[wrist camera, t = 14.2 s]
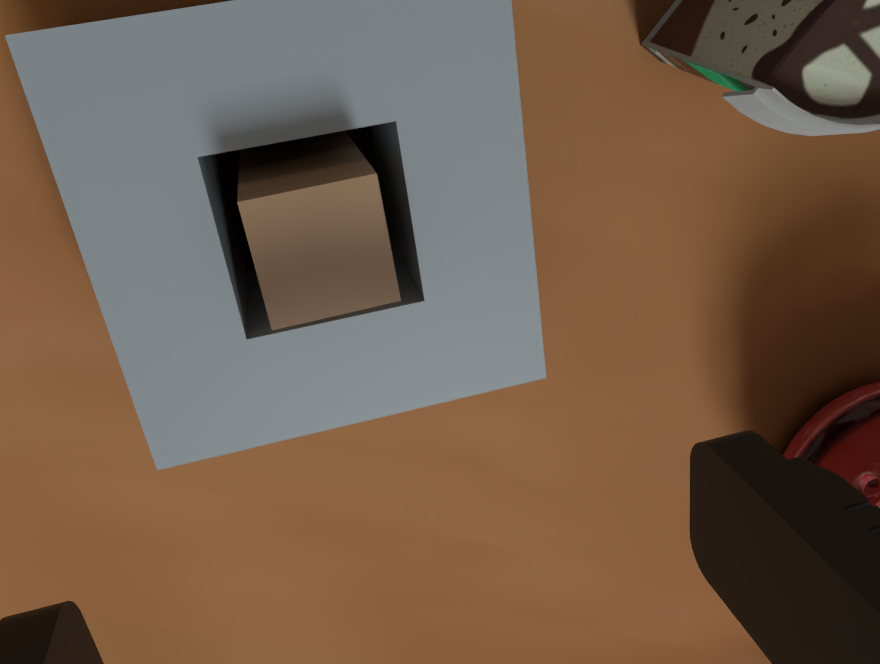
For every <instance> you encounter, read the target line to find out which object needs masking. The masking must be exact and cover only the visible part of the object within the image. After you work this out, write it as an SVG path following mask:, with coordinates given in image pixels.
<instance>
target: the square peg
mask: <svg viewBox="0 0 880 664" xmlns="http://www.w3.org/2000/svg"><path fill="white" fill-rule="evenodd" d="M237 203H238V207H239V211H240V214H241V218H242V222H243V225H244V229H245V233H246V237H247V240H248V244H249V248H250V251H251V255H252V259H253V262H254V266H255V270H256V273H257V277H258V281H259V285H260V288H261V292H262V296H263V299H264V303H265V307H266V310H267V314H268V318H269V321H270V325H271V329H272V330H277V329H281V328H285V327H290V326H294V325H298V324H303V323H307V322H311V321H316V320H320V319H324V318H329V317H333V316H337V315H342V314H346V313H350V312H355V311H359V310H363V309H368V308H372V307H376V306H381V305H385V304H389V303H394V302H398V301H401V298H400V293H399V287H398V282H397V277H396V272H395V266H394V261H393V256H392V251H391V245H390V240H389V235H388V229H387V224H386V219H385V214H384V208H383V203H382V198H381V193H380V187H379V182H378V177H377V173H376V172H375V170H374V169H373V168H372V166H371V165H370V164H369V162H368V161H367V160H366V158H365V157H364V156H363V154H362V153H361V152H360V150H359V149H358V148H357V146H356V145H355V144H354V142H353V141H352V140H351V138H350V137H349V136H348V134H347V133H346V132H345V131H339V132H334V133H328V134H323V135H317V136H312V137H306V138H301V139H295V140H290V141H284V142H279V143H273V144H268V145H262V146H257V147H251V148H246V149H240V155H239V176H238V196H237Z"/></svg>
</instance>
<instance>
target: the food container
mask: <svg viewBox="0 0 880 664" xmlns="http://www.w3.org/2000/svg"><path fill="white" fill-rule="evenodd" d="M641 46H642V47H644V48H645V49H646V50H647V51H648V52H650V53H651V54H652V55H653V56H654V57H656V58H657V59H658V60H659V61H661V62H663V63H666V64H668V65H671V66H673V67H676V68H678V69H681V70H683V71H686V72H689V73H691V74H694V75H696V76H699V77H701V78H704V79H706V80H709V81H711V82H714V83H716V84H719V85H721V86H724V87H726V88H729V89H731V90H734V91H736V92H725V93H724V94H723V96H722V97H723V98H724V99H725V100H726V101H728V102H729V103H730V104H731V105H732V106H733V107H735V108H736V109H737V110H738V111H739V112H741V113H742V114H744V115H746V116H747V117H749V118H751V119H753V120H755V121H756V122H758V123H760V124H762V125H764V126H767V127H770V128H773V129H776V130H779V131H782V132H785V133H791V134H799V135H807V136H820V135H836V134H850V133H865V132H870V131H874V130H878V129H880V0H676V1H675V2H674V3H673V4H672V6H671V7H670V8H669V9H668V11H667V12H666V13H665V14H664V16H663V17H662V18H661V19H660V21H659V22H658V23H657V24H656V26H655V27H654V28H653V29H652V31H651V32H650V33H649V34H648V36H647V37H646V38H645V39H644V41H643V42H642V43H641Z"/></svg>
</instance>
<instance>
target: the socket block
mask: <svg viewBox="0 0 880 664" xmlns="http://www.w3.org/2000/svg"><path fill="white" fill-rule="evenodd" d="M5 38H6V40H7V43H8V46H9V49H10V52H11V55H12V58H13V60H14V63H15V66H16V69H17V72H18V75H19V78H20V80H21V83H22V86H23V89H24V92H25V95H26V98H27V100H28V103H29V106H30V109H31V112H32V115H33V118H34V120H35V123H36V126H37V129H38V132H39V135H40V137H41V140H42V143H43V146H44V149H45V152H46V155H47V157H48V160H49V163H50V166H51V169H52V172H53V175H54V177H55V180H56V183H57V186H58V189H59V192H60V195H61V197H62V200H63V203H64V206H65V209H66V212H67V215H68V217H69V220H70V223H71V226H72V229H73V232H74V235H75V237H76V240H77V243H78V246H79V249H80V252H81V255H82V257H83V260H84V263H85V266H86V269H87V272H88V274H89V277H90V280H91V283H92V286H93V289H94V292H95V294H96V297H97V300H98V303H99V306H100V309H101V312H102V314H103V317H104V320H105V323H106V326H107V329H108V332H109V334H110V337H111V340H112V343H113V346H114V349H115V352H116V354H117V357H118V360H119V363H120V366H121V369H122V372H123V374H124V377H125V380H126V383H127V386H128V389H129V391H130V394H131V397H132V400H133V403H134V406H135V409H136V411H137V414H138V417H139V420H140V423H141V426H142V429H143V431H144V434H145V437H146V440H147V443H148V446H149V449H150V451H151V454H152V457H153V460H154V463H155V466H156V469H157V470H161V469H165V468H169V467H174V466H178V465H182V464H186V463H190V462H195V461H199V460H203V459H207V458H211V457H216V456H220V455H224V454H228V453H232V452H237V451H241V450H245V449H249V448H253V447H258V446H262V445H266V444H270V443H274V442H279V441H283V440H287V439H291V438H295V437H300V436H304V435H308V434H312V433H316V432H321V431H325V430H329V429H333V428H337V427H342V426H346V425H350V424H354V423H359V422H363V421H367V420H371V419H375V418H380V417H384V416H388V415H392V414H396V413H401V412H405V411H409V410H413V409H417V408H422V407H426V406H430V405H434V404H438V403H443V402H447V401H451V400H455V399H459V398H464V397H468V396H472V395H476V394H480V393H485V392H489V391H493V390H497V389H501V388H506V387H510V386H514V385H518V384H522V383H527V382H531V381H535V380H539V379H543V378H546V370H545V359H544V348H543V337H542V327H541V316H540V305H539V294H538V284H537V273H536V262H535V251H534V240H533V230H532V219H531V208H530V197H529V186H528V176H527V165H526V154H525V143H524V132H523V122H522V111H521V100H520V89H519V79H518V68H517V57H516V46H515V35H514V25H513V14H512V3H511V0H232V1H226V2H219V3H213V4H206V5H199V6H193V7H186V8H180V9H173V10H167V11H160V12H154V13H147V14H141V15H134V16H128V17H121V18H115V19H108V20H102V21H95V22H88V23H82V24H75V25H69V26H62V27H56V28H49V29H43V30H36V31H30V32H23V33H17V34H10V35H5ZM367 126H370V128H371V134H372V140H373V146H374V151H375V157H376V163H377V169H378V174H379V180H380V186H381V192H382V197H383V203H384V209H385V215H386V221H387V226H388V232H389V238H390V245H391V251H392V256H393V261H394V266H395V272H396V277H397V282H398V287H399V293H400V298H401V301H398V302H394V303H389V304H385V305H381V306H376V307H372V308H368V309H363V310H359V311H355V312H350V313H346V314H342V315H337V316H333V317H329V318H324V319H320V320H316V321H311V322H307V323H303V324H298V325H294V326H290V327H285V328H281V329H277V330H272V329H271V325H270V321H269V318H268V314H267V310H266V307H265V303H264V299H263V296H262V292H261V288H260V285H259V281H258V277H257V273H256V271H251V272H246V268H245V264H244V260H243V256H242V253H241V249H240V245H239V241H238V237H237V233H236V229H235V226H234V222H233V218H232V214H231V210H230V206H229V202H228V199H227V195H226V191H225V187H224V183H223V179H222V175H221V172H220V168H219V164H218V160H217V156H216V154H218V153H223V152H229V151H235V150H240V149H246V148H251V147H257V146H262V145H268V144H273V143H279V142H284V141H290V140H295V139H301V138H306V137H312V136H317V135H323V134H328V133H334V132H339V131H345V130H350V129H356V128H361V127H367Z"/></svg>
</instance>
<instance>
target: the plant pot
mask: <svg viewBox="0 0 880 664" xmlns="http://www.w3.org/2000/svg"><path fill="white" fill-rule="evenodd" d="M783 456H784V457H785V458H786V459H787V460H789V459H792V458H796V457H800V458H802V459H804V460H807V461H809V462H811V463H814V464H816V465H818V466H820V467H823V468H825V469H827V470H829V471H832V472H834V473H836V474H838V475H840V476H841V477H842V478H844V479H845V480H846V481H847V482H849V483H850V484H851V485H852V486H853V487H855V488H856V489H857V490H858V491H860V492H861V493H862V494H863V495H864V496H866V497H867V498H868V499H869V500H870V503H871V505H872V506H874V505H877V506H878V507H879V508H880V382H876V383H872V384H868V385H865V386H862V387H859V388H856V389H854V390H852V391H849V392H847V393H845V394H843V395H841V396H840V397H838V398H836V399H835V400H833V401H832V402H830V403H829V404H827V405H826V406H824V407H823V408H822V409H821V410H819V411H818V412H817V413H816V414H815V415H814V416H813V417H811V418H810V419H809V420H808V421H807V422H806V423H805V424H804V426H803V427H802V428H801V429H800V430H799V431H798V432H797V434H796V435H795V436H794V438H793V439H792V441H791V442H790V444H789V445H788V447H787V449H786V450H785V452H784V454H783Z"/></svg>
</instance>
